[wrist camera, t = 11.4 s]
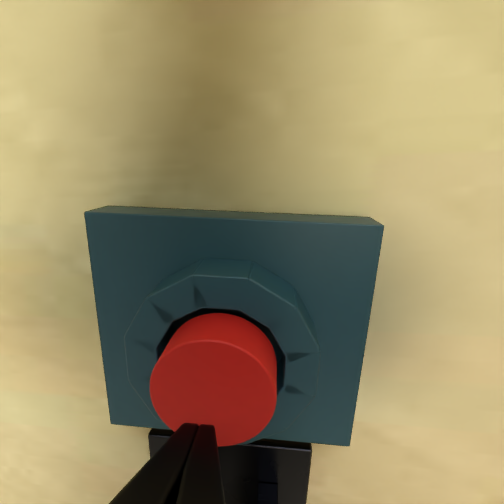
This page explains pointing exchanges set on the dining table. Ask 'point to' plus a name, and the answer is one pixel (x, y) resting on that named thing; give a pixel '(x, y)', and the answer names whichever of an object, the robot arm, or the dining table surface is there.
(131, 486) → the robot arm
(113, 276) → the button housing
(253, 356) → the red button
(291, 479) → the lever bracket
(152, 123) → the dining table surface
